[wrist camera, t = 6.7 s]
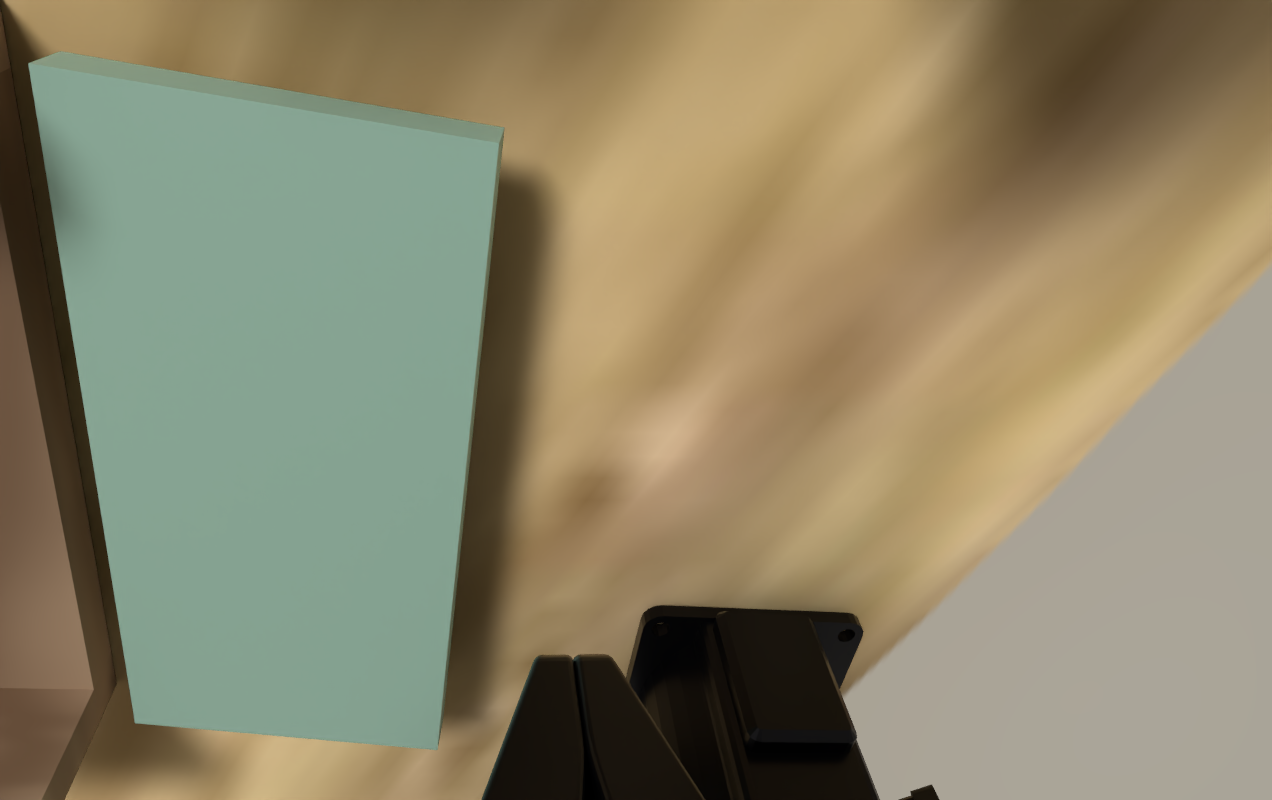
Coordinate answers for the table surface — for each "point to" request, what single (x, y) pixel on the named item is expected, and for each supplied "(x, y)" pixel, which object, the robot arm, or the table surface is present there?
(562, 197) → the table surface
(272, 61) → the table surface
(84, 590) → the truck bed
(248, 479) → the tailgate
